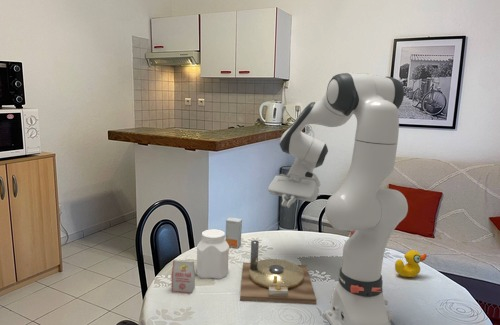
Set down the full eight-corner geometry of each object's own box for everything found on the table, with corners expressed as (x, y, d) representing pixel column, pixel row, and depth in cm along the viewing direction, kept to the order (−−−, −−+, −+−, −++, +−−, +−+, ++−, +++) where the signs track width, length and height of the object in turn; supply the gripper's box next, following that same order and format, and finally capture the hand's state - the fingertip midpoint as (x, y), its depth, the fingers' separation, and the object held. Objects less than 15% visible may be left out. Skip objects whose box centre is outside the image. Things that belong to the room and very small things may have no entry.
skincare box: (224, 246, 155) (225, 219, 153) (228, 242, 159) (229, 216, 157) (238, 248, 154) (239, 221, 152) (241, 245, 158) (242, 218, 156)
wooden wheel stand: (316, 304, 114) (317, 291, 113) (240, 300, 114) (240, 287, 113) (306, 269, 137) (306, 258, 137) (242, 266, 138) (243, 255, 137)
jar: (194, 278, 127) (195, 237, 125) (198, 265, 137) (199, 227, 134) (227, 279, 127) (228, 239, 125) (229, 267, 137) (230, 229, 134)
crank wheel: (314, 283, 124) (316, 249, 121) (266, 294, 115) (268, 259, 113) (284, 260, 140) (285, 231, 138) (240, 269, 131) (241, 238, 129)
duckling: (419, 272, 138) (422, 247, 137) (427, 279, 133) (430, 253, 131) (391, 272, 137) (393, 248, 135) (398, 279, 132) (401, 254, 130)
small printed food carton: (174, 286, 121) (175, 258, 120) (194, 287, 121) (195, 259, 119) (171, 291, 118) (171, 262, 116) (191, 293, 117) (192, 264, 115)
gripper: (273, 169, 147) (259, 197, 141) (319, 175, 135) (306, 206, 129) (279, 177, 151) (265, 205, 145) (324, 184, 139) (311, 215, 133)
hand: (285, 206), depth 137 cm, fingers closed
